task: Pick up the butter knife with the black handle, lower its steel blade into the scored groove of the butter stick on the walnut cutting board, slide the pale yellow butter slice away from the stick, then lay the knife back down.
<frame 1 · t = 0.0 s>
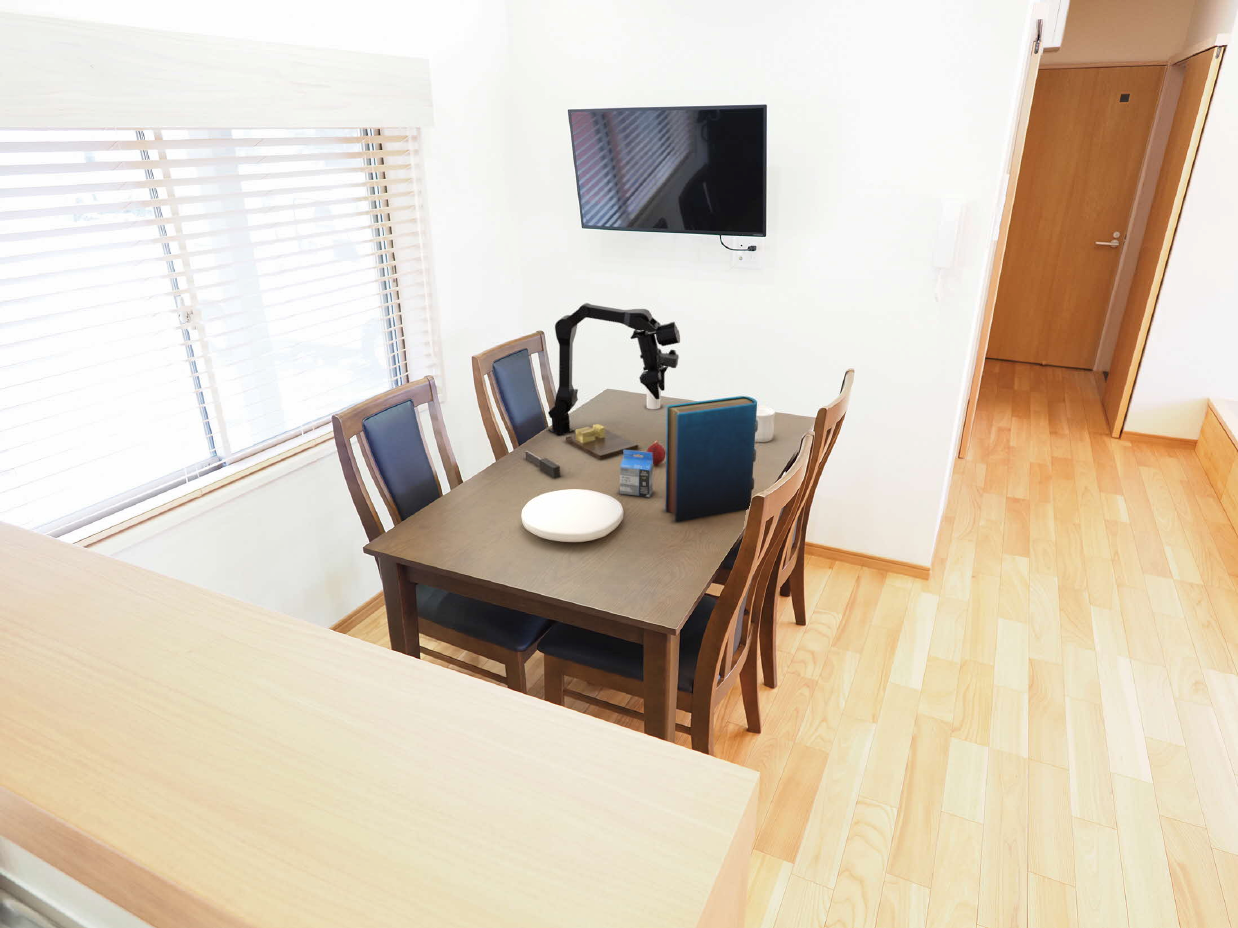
hand: (660, 394, 257), 15 cm above the table, tool pointing down, fingers open, 9 cm apart
cup 2: (758, 438, 263), on the table
cup: (653, 407, 293), on the table
book: (710, 508, 215), on the table
onion: (655, 465, 242), on the table
white round disc: (573, 525, 207), on the table
cutting board: (601, 445, 258), on the table
butter knife: (543, 469, 240), on the table
label tape box: (636, 493, 224), on the table
butter slice: (599, 436, 261), point 1 cm above the table, touching cutting board
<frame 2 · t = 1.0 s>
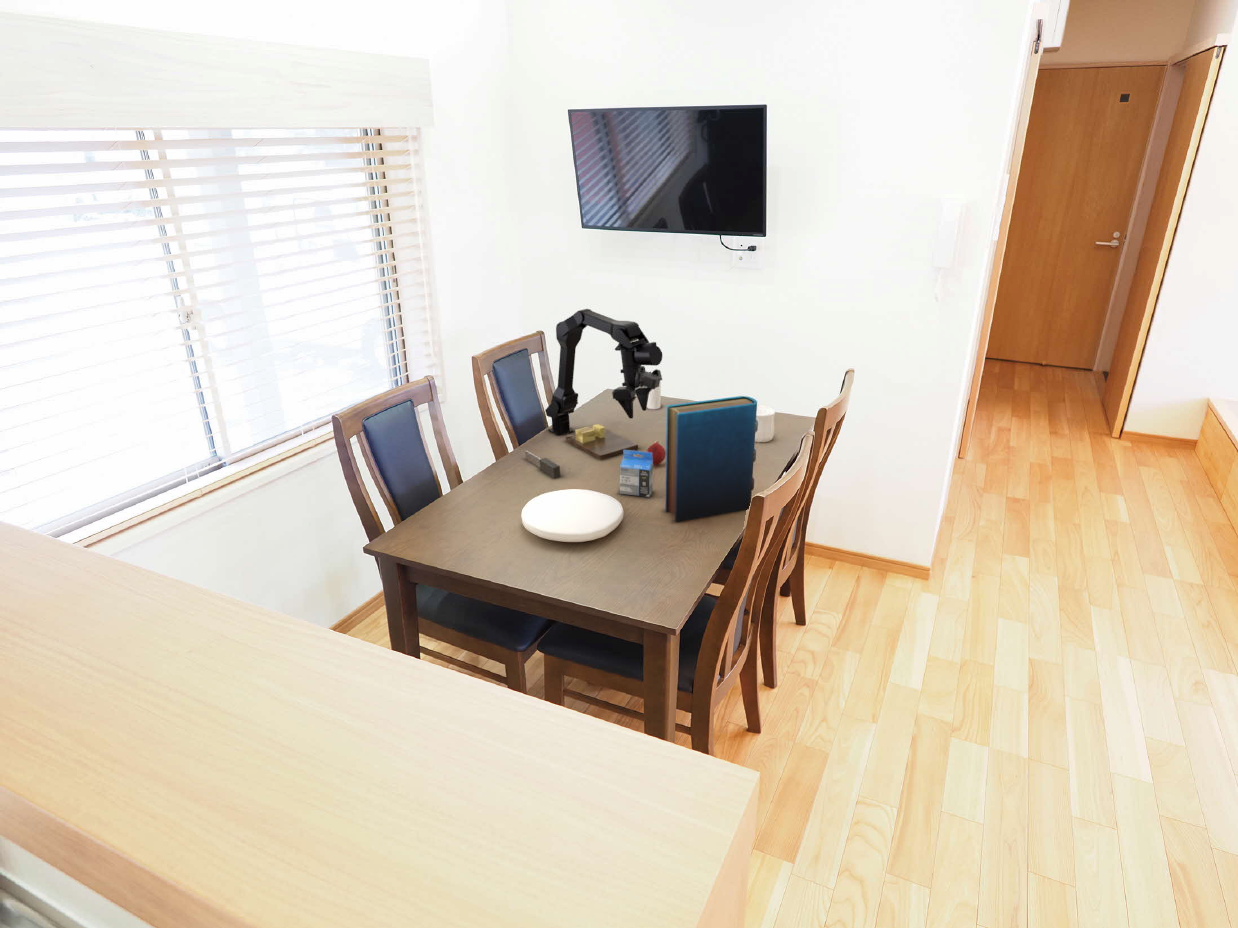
hand: (638, 414, 243), 14 cm above the table, tool pointing down, fingers open, 9 cm apart
nothing on the table moved.
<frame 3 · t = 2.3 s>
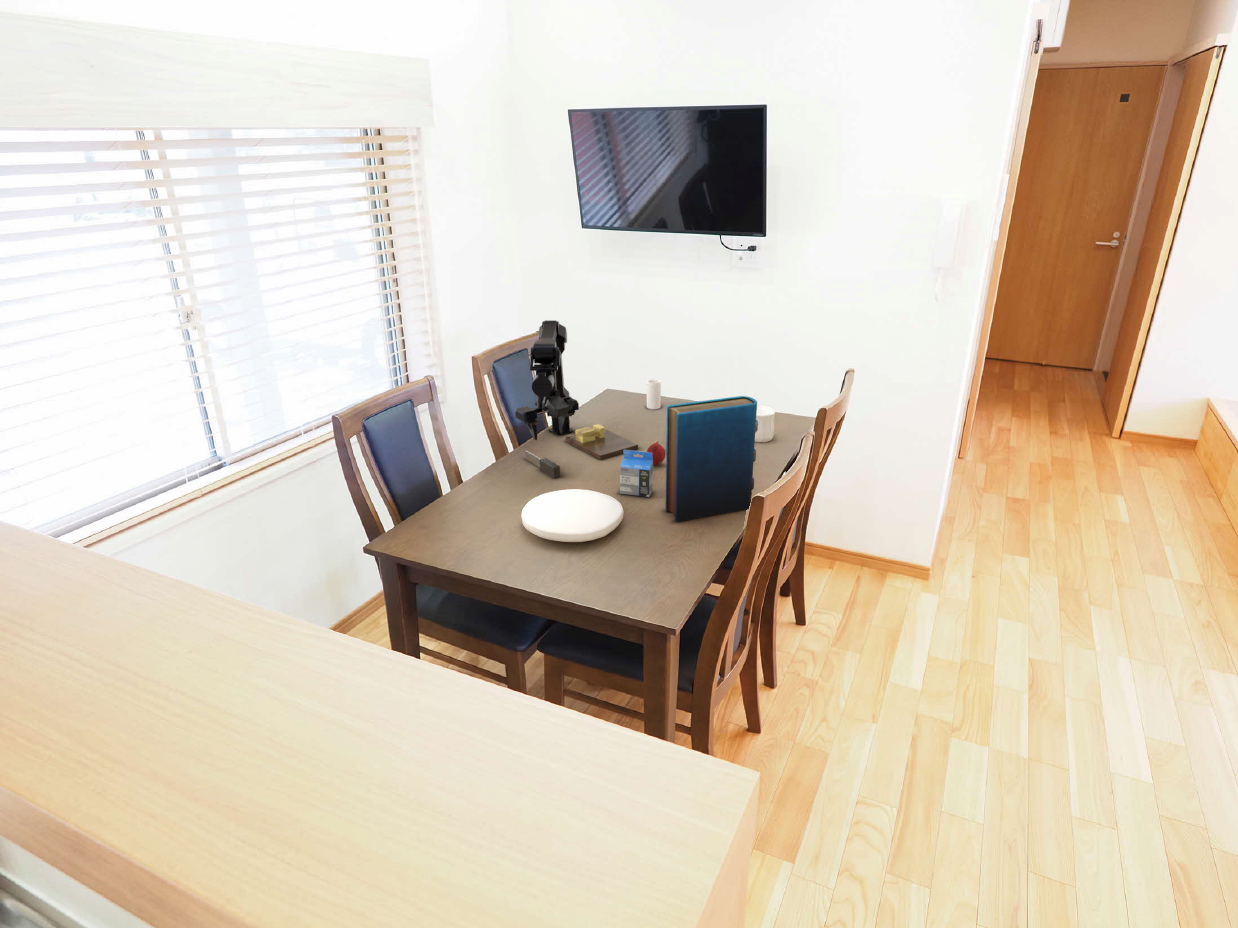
hand: (548, 436, 233), 12 cm above the table, tool pointing down, fingers open, 9 cm apart
nothing on the table moved.
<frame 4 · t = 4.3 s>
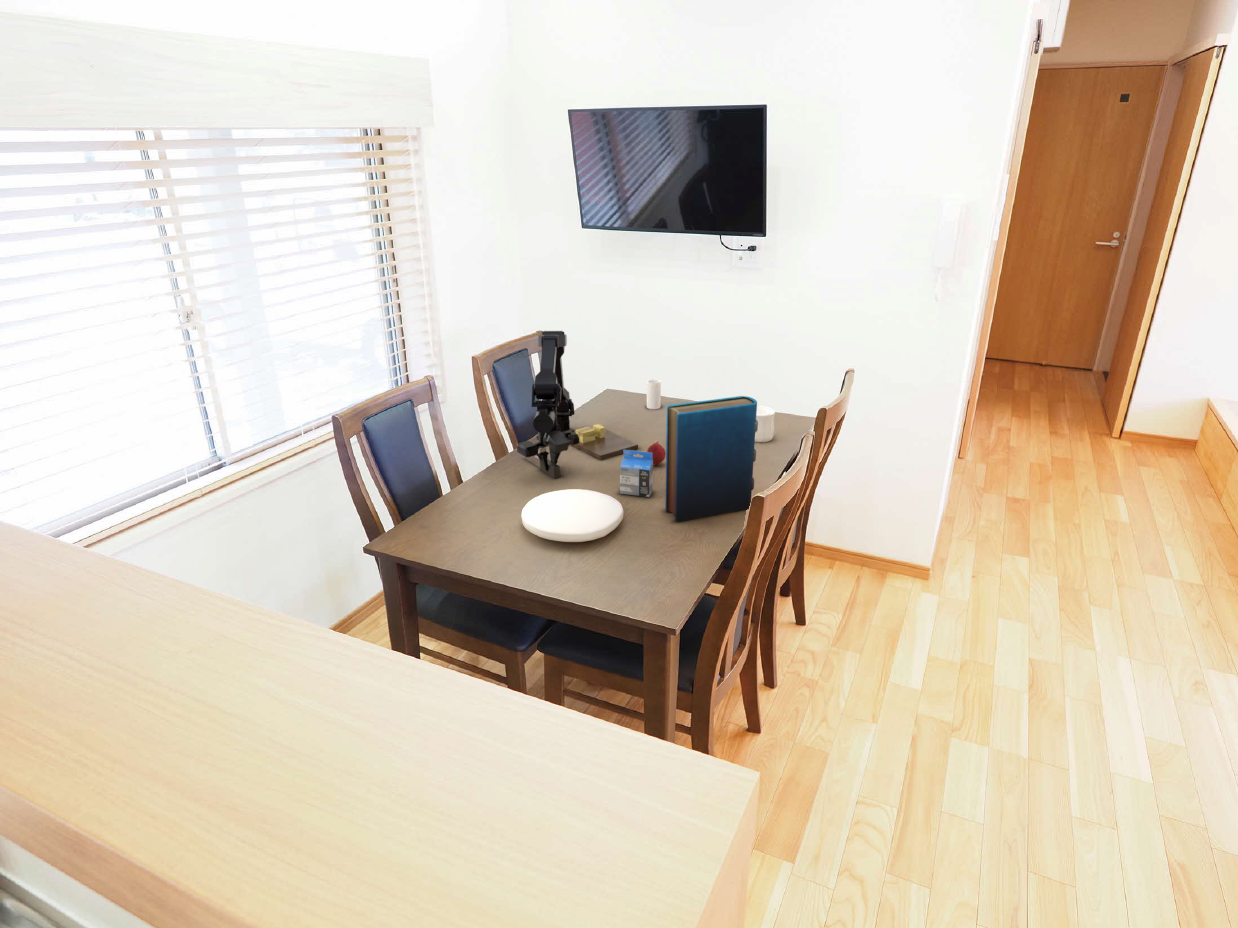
hand: (549, 469, 237), 1 cm above the table, tool pointing down, fingers closed on butter knife, 2 cm apart
butter knife: (543, 469, 240), on the table, touching gripper
everything else where it was.
when the fingers open (1 cm above the table, at t = 15.3 s): butter knife stays where it is, on the table.
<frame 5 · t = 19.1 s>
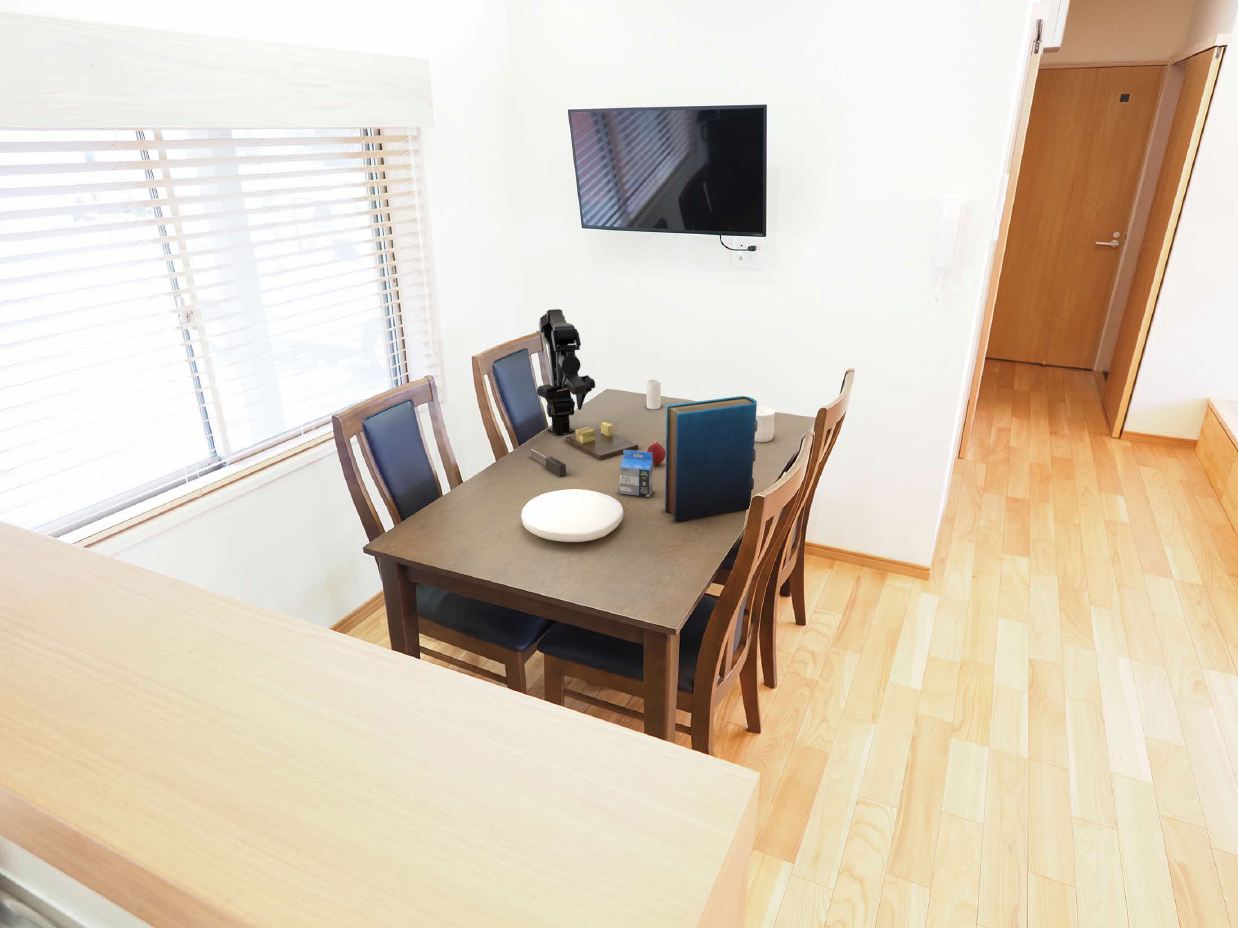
hand: (567, 412, 252), 12 cm above the table, tool pointing down, fingers open, 9 cm apart
butter knife: (548, 467, 241), on the table
butter slice: (606, 433, 263), point 1 cm above the table, touching cutting board
everything else where it was.
at the end: butter slice 0.5 cm from the target spot on the cutting board, point 1.5 cm above the cutting board's base; butter slice tilted 0°; the gripper is holding nothing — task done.
